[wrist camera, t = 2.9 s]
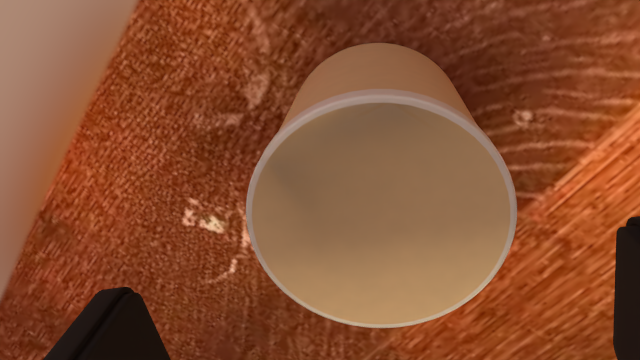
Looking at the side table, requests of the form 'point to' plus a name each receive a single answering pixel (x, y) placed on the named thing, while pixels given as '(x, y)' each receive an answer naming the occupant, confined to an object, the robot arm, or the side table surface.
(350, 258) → the paper cup
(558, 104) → the side table surface
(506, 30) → the side table surface
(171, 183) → the side table surface
